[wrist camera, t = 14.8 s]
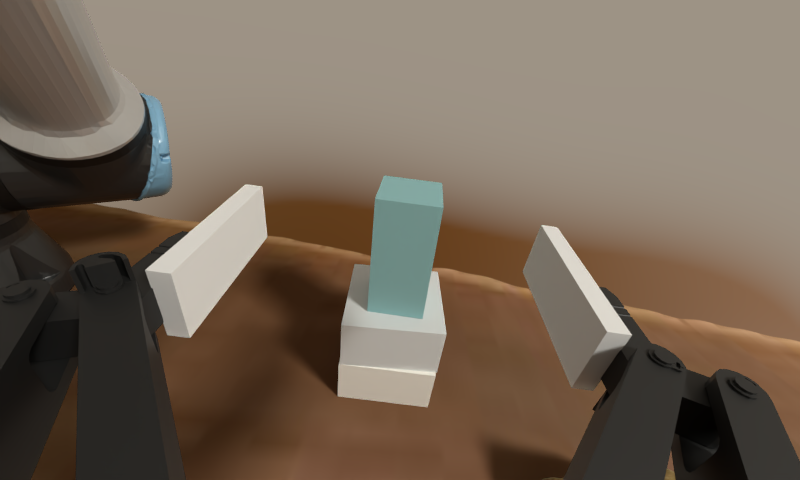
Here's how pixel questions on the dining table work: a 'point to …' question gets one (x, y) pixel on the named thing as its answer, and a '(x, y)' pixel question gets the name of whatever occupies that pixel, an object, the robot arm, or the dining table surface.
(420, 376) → the tower base
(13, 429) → the robot arm
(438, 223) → the teal post
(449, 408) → the dining table surface
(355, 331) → the tower top
